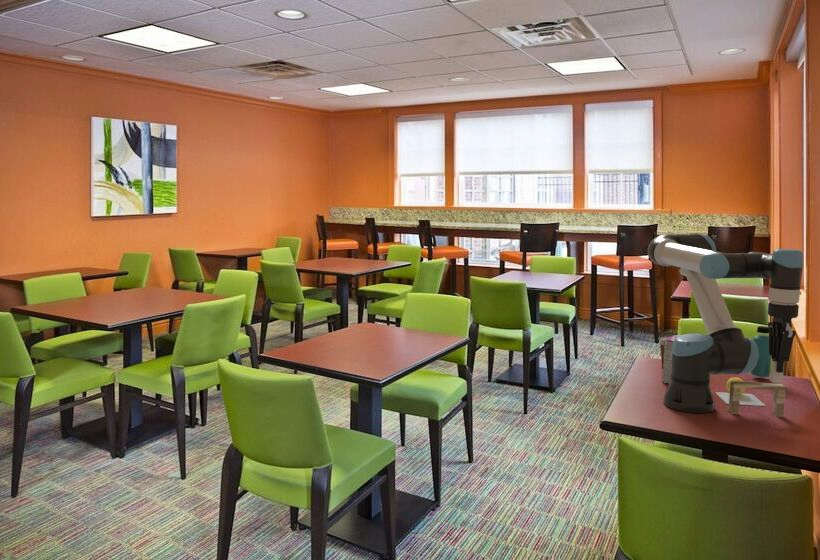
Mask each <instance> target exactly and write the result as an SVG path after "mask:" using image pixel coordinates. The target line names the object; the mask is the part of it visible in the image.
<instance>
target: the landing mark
mask: <svg viewBox="0 0 820 560" xmlns="http://www.w3.org/2000/svg"><path fill="white" fill-rule="evenodd" d="M714 393H715V394H716V395H717V396H718V397H719V398H720V399H721V400H722V401H723V402H724V403H725V404H726V405H729V398H730V392H723V391H718V392H717V391H715V392H714ZM739 406H753V407H754V406H755V407H757V406H758V407H767V406H766V404H765V403H763V402H762V401H761V400H760V399H758V398H757V397H756V396H755V395H754V394H752V393H742V394H740V402H739Z"/></svg>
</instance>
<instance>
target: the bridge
mask: <svg viewBox="0 0 820 560" xmlns="http://www.w3.org/2000/svg"><path fill="white" fill-rule="evenodd" d="M741 388H745V390H746V389H750V390H768V391H774V393H773V402H772V414H773V415H774V416H775V417H779V418H783V417H784V411H785V403H786V391H787V390H786V389H787V386H786V385H784V384H783V383H772V382H770V383H769V382H749V381H748V382H747V381H744V382H733V381H731V385H730V392H729V393H730V398H729V404H728V412H729V413H730V414H732V415H739V414H740V413H739V411H740V405H739V402H740V390H741Z"/></svg>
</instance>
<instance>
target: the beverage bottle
mask: <svg viewBox="0 0 820 560" xmlns="http://www.w3.org/2000/svg"><path fill="white" fill-rule="evenodd" d="M756 332H757V333H759V334H756V335H755V336H753V338H752V340H754V341H755V342H756V344H757V347H758V352H759V356H758V360H757V364H756V366H755V368H754V369H753V370H752V371H750V374H751V375H752V376H754V377H760V378H767V377H770V376H771V370H772V367H771V365H772V357H771V356H772V355H769V335H767V334H769V328H768V326H766V325H765V326H763V325H762V326H761V325H759V326H757V328H756Z"/></svg>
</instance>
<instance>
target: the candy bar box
mask: <svg viewBox="0 0 820 560" xmlns="http://www.w3.org/2000/svg"><path fill="white" fill-rule="evenodd" d="M678 336H681V335H679V334H674V335H672V336H669V337H670V338H668V339H666V340H664V361H663V368H662V380H661V381H662V382H661V383H663V382H664V383H663V384H666V383H668V384H667V385H669V383H670V381H671V368H672V349H673V343H674V340H675V339H676V338H677V337H678Z"/></svg>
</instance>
